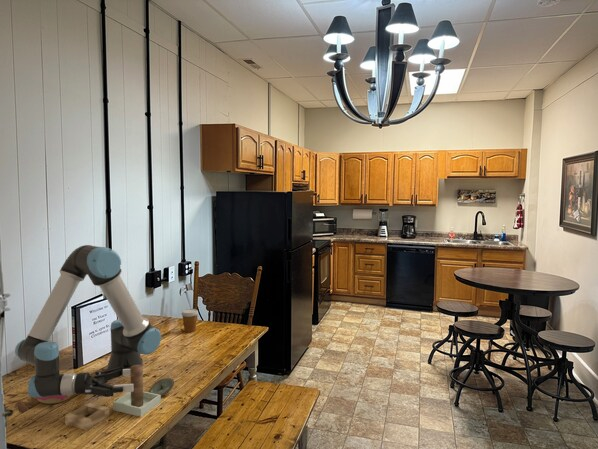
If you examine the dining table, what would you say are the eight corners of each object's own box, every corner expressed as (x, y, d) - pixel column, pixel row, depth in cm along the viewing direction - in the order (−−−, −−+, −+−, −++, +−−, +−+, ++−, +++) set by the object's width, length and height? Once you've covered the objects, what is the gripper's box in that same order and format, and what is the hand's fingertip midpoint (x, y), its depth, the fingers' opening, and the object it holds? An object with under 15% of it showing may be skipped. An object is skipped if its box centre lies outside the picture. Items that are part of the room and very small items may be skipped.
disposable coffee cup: (181, 329, 248) (181, 309, 247) (197, 327, 251) (197, 308, 250) (182, 334, 239) (181, 313, 238) (198, 332, 242) (198, 312, 241)
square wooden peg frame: (65, 424, 146) (64, 416, 146) (88, 410, 156) (88, 402, 155) (86, 430, 143) (86, 421, 142) (109, 415, 152) (109, 407, 152)
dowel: (128, 406, 157) (127, 368, 156) (136, 401, 162) (136, 363, 160) (137, 408, 156) (137, 370, 155) (145, 403, 160) (145, 365, 159)
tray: (113, 410, 156) (113, 402, 156) (134, 396, 166) (134, 389, 166) (141, 416, 151) (140, 408, 151) (160, 402, 162) (160, 395, 161)
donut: (31, 408, 157) (31, 395, 156) (42, 392, 170) (42, 380, 169) (71, 403, 161) (71, 391, 160) (79, 387, 173) (78, 376, 173)
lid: (179, 392, 171) (179, 380, 170) (157, 401, 163) (157, 388, 163) (165, 384, 177) (165, 372, 177) (143, 392, 170) (143, 380, 169)
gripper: (87, 378, 166) (143, 374, 170) (64, 410, 142) (130, 405, 146) (87, 360, 166) (142, 357, 170) (63, 389, 141) (129, 384, 145)
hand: (137, 379), depth 158 cm, fingers open, 13 cm apart
